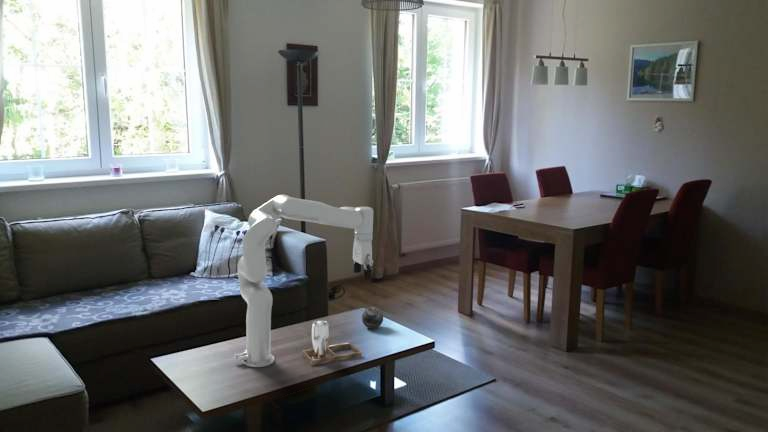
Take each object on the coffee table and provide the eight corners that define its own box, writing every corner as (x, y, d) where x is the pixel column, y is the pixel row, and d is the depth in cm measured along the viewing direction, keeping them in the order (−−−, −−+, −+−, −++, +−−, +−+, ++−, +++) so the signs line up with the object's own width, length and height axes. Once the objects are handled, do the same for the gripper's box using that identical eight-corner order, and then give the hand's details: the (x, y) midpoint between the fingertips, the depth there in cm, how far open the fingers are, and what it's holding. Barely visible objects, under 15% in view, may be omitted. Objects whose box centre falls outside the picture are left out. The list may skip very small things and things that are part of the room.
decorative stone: (367, 333, 284) (368, 312, 282) (357, 326, 292) (358, 305, 290) (386, 330, 288) (387, 309, 287) (376, 323, 297) (377, 303, 295)
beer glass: (329, 355, 258) (330, 320, 255) (326, 362, 251) (327, 326, 248) (313, 354, 258) (313, 319, 255) (309, 360, 251) (310, 325, 249)
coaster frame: (311, 365, 247) (311, 360, 247) (301, 355, 257) (301, 349, 256) (361, 356, 257) (361, 351, 257) (350, 347, 267) (350, 342, 266)
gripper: (346, 232, 267) (345, 271, 270) (364, 241, 252) (363, 281, 255) (362, 231, 270) (361, 269, 273) (380, 240, 255) (379, 280, 258)
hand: (362, 275), depth 264 cm, fingers open, 9 cm apart
